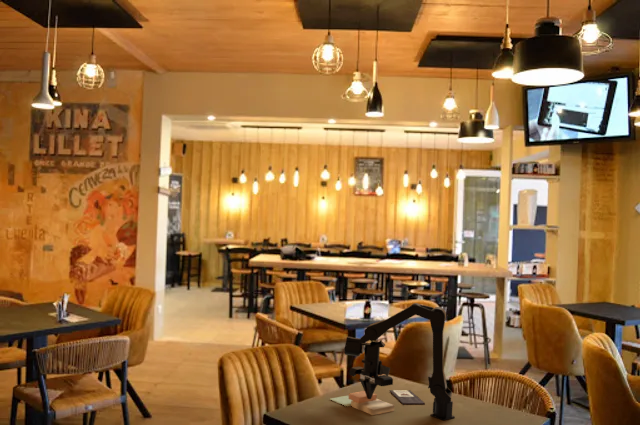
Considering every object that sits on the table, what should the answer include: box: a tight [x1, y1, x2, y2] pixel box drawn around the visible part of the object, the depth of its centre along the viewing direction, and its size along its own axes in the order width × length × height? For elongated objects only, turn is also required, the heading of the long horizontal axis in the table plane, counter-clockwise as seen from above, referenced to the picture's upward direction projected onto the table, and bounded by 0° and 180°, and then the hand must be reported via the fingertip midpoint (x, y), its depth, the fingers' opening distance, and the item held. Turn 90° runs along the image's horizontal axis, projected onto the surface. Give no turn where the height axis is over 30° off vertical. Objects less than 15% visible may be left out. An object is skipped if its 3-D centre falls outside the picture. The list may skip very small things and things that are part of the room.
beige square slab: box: [350, 398, 395, 416], centre depth 231 cm, size 12×11×2 cm
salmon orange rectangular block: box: [348, 390, 378, 403], centre depth 235 cm, size 6×9×2 cm, turn 128°
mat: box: [329, 394, 353, 407], centre depth 240 cm, size 10×15×1 cm, turn 128°
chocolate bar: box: [389, 389, 426, 406], centre depth 248 cm, size 9×1×18 cm
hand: (369, 398), depth 232 cm, fingers closed
